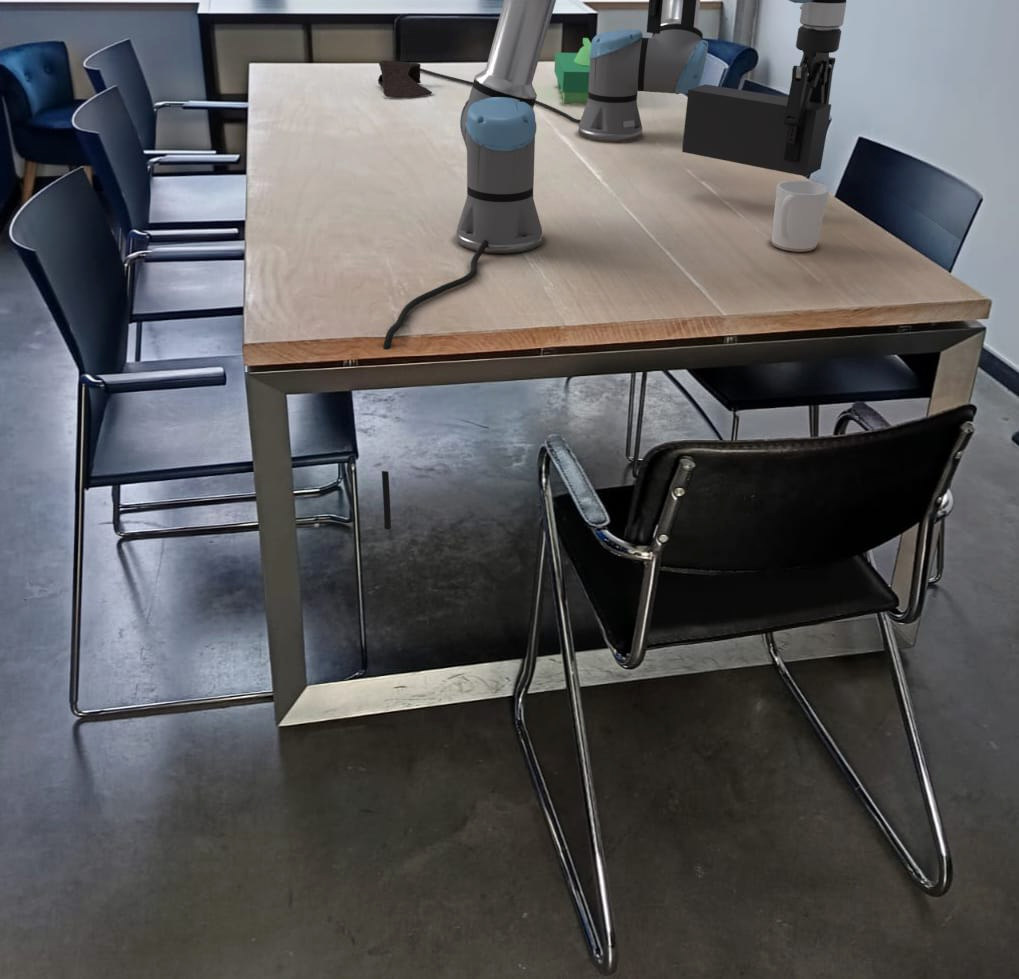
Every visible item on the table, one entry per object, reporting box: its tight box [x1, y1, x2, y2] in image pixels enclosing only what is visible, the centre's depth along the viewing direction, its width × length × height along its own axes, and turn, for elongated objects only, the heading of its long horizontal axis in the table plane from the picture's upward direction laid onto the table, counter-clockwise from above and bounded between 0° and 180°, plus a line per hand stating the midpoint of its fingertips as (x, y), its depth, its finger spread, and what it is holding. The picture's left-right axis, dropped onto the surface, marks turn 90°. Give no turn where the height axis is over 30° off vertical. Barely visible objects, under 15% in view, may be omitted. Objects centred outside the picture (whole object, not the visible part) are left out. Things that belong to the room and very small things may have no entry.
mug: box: [770, 179, 830, 253], centre depth 193 cm, size 11×9×10 cm
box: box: [681, 84, 832, 177], centre depth 210 cm, size 26×7×12 cm, turn 53°
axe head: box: [377, 59, 433, 99], centre depth 299 cm, size 18×8×15 cm
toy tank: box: [554, 37, 592, 104], centre depth 300 cm, size 18×12×35 cm
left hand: (799, 156), depth 207 cm, fingers closed on box, 7 cm apart
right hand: (670, 29), depth 224 cm, fingers open, 13 cm apart
